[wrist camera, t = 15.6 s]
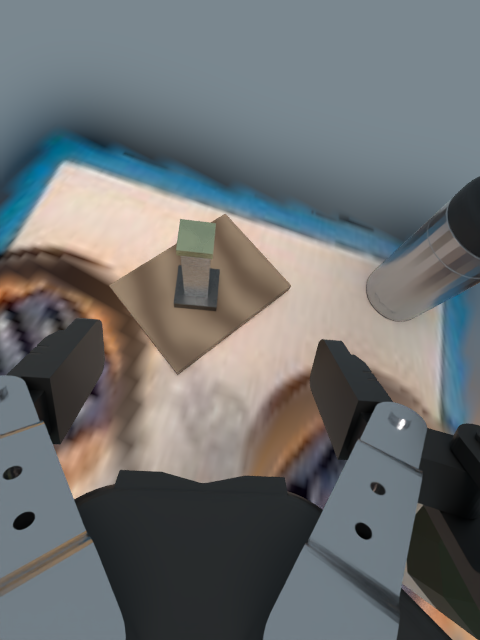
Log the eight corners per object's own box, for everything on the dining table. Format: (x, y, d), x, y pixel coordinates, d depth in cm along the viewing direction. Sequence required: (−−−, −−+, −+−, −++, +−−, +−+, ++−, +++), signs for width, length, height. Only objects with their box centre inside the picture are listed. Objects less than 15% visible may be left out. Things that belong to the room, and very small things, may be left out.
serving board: (224, 219, 50) (225, 213, 49) (288, 289, 48) (291, 285, 46) (112, 289, 45) (109, 285, 43) (177, 374, 42) (176, 372, 40)
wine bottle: (355, 466, 41) (705, 540, 12) (415, 500, 40) (920, 657, 12) (330, 535, 38) (710, 831, 10) (394, 572, 37) (995, 1003, 9)
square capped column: (179, 270, 45) (171, 209, 33) (219, 274, 46) (226, 216, 33) (174, 307, 43) (164, 257, 31) (216, 311, 44) (222, 264, 32)
